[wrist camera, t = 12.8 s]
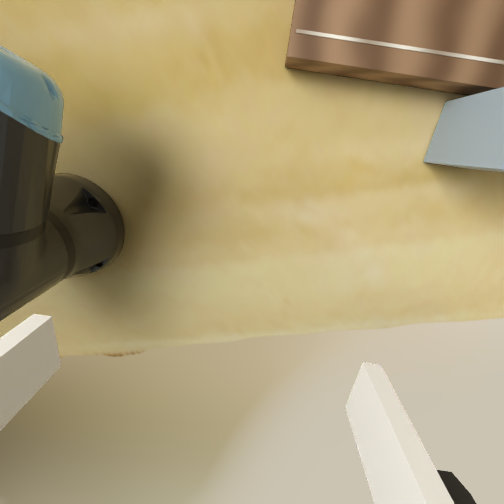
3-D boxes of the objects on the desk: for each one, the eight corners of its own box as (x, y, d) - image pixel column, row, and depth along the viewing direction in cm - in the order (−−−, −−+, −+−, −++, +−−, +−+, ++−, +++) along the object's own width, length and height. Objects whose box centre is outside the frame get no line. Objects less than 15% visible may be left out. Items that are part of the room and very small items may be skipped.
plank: (284, 67, 31) (287, 55, 27) (306, -73, 27) (313, -109, 23) (531, 104, 31) (568, 98, 27) (595, -28, 27) (649, -57, 23)
